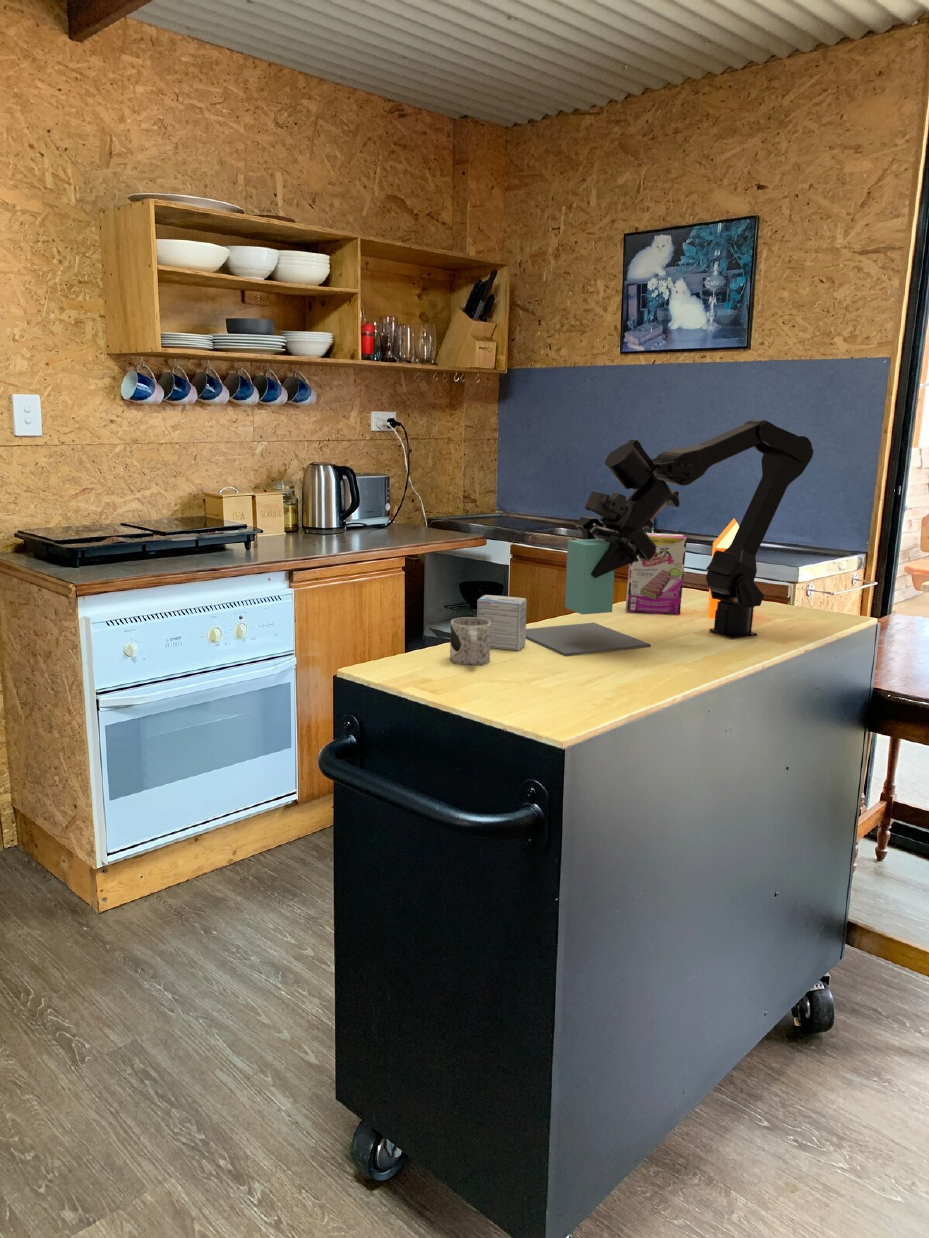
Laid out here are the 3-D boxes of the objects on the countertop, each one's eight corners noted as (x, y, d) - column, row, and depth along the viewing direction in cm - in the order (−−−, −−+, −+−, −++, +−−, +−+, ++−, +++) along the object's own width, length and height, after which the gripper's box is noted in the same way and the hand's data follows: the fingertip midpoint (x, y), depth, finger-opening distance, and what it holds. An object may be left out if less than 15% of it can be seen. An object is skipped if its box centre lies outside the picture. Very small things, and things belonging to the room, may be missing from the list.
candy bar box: (626, 613, 193) (631, 534, 190) (625, 608, 198) (630, 531, 195) (681, 615, 192) (687, 536, 189) (678, 610, 197) (684, 533, 194)
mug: (448, 655, 157) (449, 617, 156) (487, 655, 158) (488, 617, 156) (452, 671, 147) (453, 631, 146) (493, 671, 148) (495, 631, 146)
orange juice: (708, 618, 191) (716, 520, 186) (706, 609, 199) (714, 516, 195) (747, 620, 189) (756, 522, 185) (744, 612, 197) (753, 518, 193)
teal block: (594, 605, 167) (597, 539, 164) (612, 612, 161) (615, 543, 159) (564, 607, 164) (567, 540, 162) (582, 614, 159) (585, 545, 156)
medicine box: (525, 645, 165) (527, 598, 163) (519, 651, 161) (520, 602, 159) (483, 641, 167) (484, 594, 165) (475, 646, 163) (477, 598, 161)
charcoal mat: (593, 625, 182) (593, 622, 182) (650, 646, 166) (650, 643, 166) (513, 632, 174) (513, 630, 174) (565, 656, 158) (565, 653, 158)
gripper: (586, 471, 168) (530, 534, 166) (645, 479, 151) (583, 549, 149) (621, 513, 172) (567, 575, 171) (682, 526, 156) (622, 594, 154)
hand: (583, 573), depth 161 cm, fingers closed on teal block, 6 cm apart
